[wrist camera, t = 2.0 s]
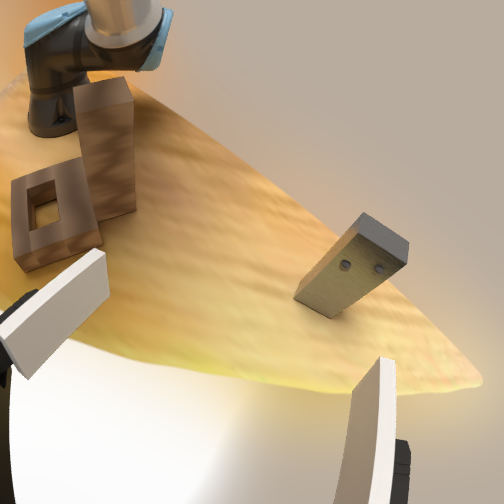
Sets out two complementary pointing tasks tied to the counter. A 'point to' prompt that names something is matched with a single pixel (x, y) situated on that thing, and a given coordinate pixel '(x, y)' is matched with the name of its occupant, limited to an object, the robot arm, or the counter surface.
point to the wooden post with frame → (80, 180)
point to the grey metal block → (353, 267)
